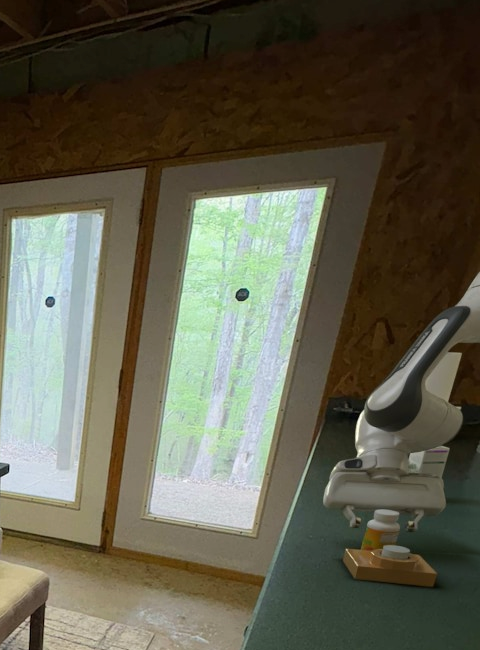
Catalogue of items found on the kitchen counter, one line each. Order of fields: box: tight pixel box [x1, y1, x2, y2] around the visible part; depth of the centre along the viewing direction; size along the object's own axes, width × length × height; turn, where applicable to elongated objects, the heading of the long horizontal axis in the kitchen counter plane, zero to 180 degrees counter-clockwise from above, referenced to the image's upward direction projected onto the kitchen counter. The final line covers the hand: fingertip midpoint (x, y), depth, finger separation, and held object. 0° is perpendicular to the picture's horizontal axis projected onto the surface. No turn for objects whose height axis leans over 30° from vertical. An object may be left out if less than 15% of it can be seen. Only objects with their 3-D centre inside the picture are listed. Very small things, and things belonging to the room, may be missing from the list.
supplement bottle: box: [360, 509, 401, 551], centre depth 129 cm, size 5×5×10 cm
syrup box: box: [408, 445, 450, 479], centre depth 162 cm, size 6×6×14 cm
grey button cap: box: [381, 545, 411, 560], centre depth 118 cm, size 4×4×2 cm
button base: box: [342, 548, 438, 588], centre depth 120 cm, size 12×10×5 cm
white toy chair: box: [425, 351, 463, 411], centre depth 235 cm, size 19×19×30 cm
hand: (383, 529), depth 128 cm, fingers open, 8 cm apart
